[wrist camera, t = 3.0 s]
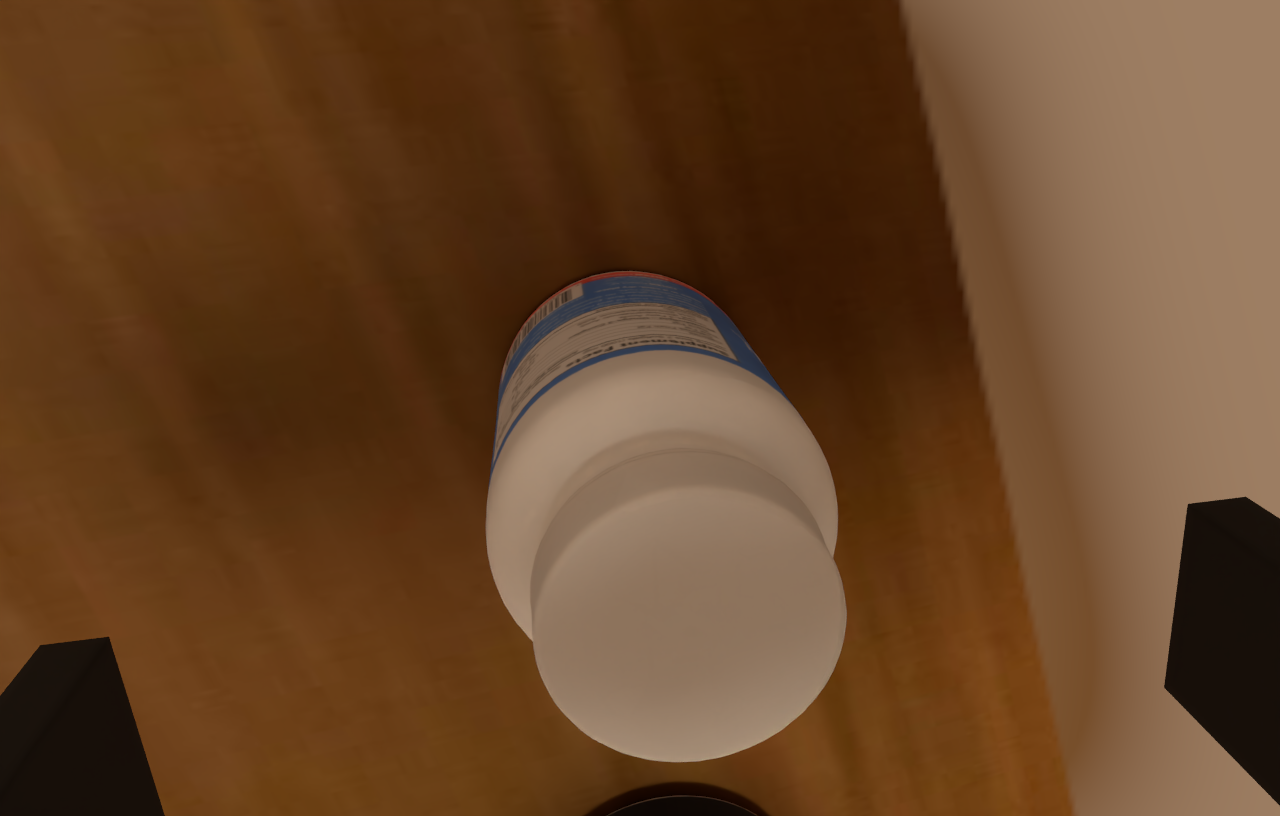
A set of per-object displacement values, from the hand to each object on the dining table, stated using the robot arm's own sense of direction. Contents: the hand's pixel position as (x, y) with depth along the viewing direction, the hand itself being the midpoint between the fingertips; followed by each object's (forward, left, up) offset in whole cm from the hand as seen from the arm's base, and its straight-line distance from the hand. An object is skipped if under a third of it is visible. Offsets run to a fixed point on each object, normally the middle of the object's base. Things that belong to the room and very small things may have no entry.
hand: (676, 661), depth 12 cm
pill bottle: (0, 0, -10) cm, 10 cm away
